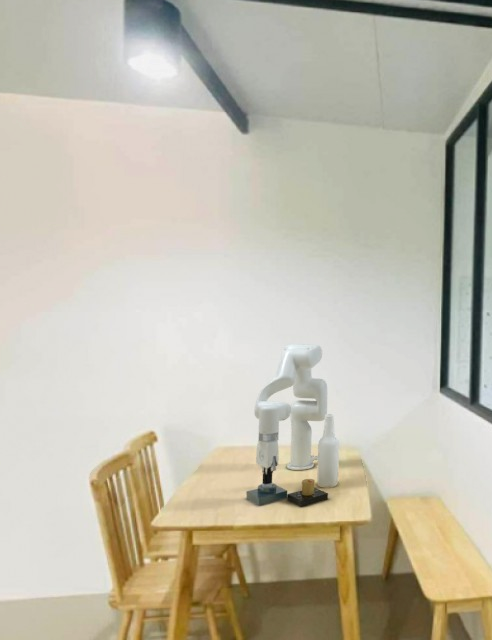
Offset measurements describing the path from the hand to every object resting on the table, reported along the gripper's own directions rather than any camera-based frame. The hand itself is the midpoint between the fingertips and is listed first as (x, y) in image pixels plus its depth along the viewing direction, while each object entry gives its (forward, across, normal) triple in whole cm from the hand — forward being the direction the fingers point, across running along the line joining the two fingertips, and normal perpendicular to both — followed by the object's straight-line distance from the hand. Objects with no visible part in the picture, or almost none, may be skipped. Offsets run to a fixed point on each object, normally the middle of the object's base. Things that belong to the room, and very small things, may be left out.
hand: (267, 483), depth 199 cm
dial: (+4, +12, +11) cm, 17 cm away
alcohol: (+6, +2, +27) cm, 28 cm away
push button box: (+6, 0, 0) cm, 6 cm away
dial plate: (+6, +12, +11) cm, 17 cm away
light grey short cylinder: (+2, 0, 0) cm, 2 cm away
